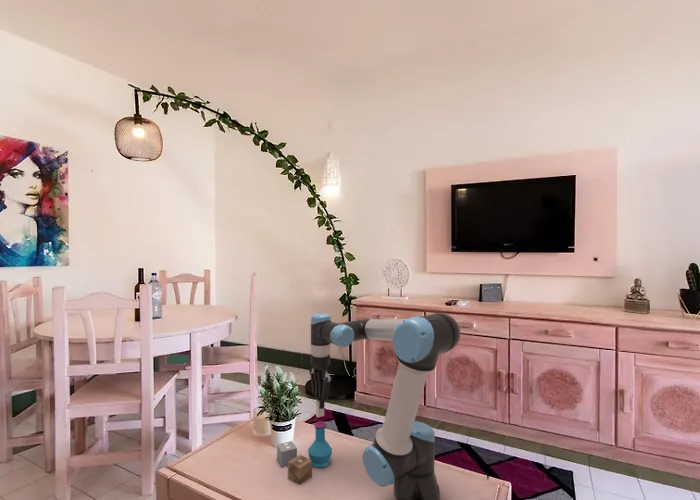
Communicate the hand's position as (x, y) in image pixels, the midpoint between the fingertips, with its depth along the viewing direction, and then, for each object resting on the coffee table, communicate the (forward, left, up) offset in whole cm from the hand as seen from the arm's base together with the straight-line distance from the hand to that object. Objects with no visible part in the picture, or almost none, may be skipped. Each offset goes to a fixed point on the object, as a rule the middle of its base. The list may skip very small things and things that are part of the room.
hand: (320, 415), depth 145 cm
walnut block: (-4, +11, -18) cm, 21 cm away
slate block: (+8, +10, -18) cm, 22 cm away
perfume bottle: (0, 0, -18) cm, 18 cm away
